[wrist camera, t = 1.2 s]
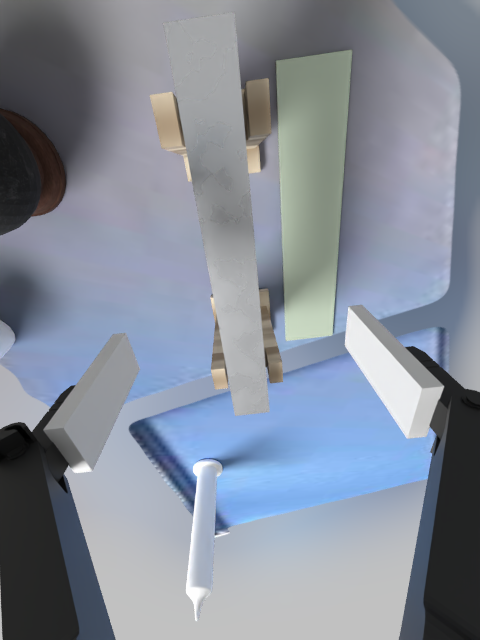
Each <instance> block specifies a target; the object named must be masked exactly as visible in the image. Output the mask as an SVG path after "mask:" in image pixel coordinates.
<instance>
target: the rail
mask: <svg viewBox="0 0 480 640" xmlns="http://www.w3.org/2000/svg"><path fill="white" fill-rule="evenodd" d="M163 26H164V32H165V37H166V43H167V48H168V53H169V59H170V64H171V70H172V75H173V81H174V86H175V92H176V97H177V102H178V108H179V113H180V119H181V124H182V130H183V135H184V140H185V146H186V151H187V157H188V162H189V168H190V173H191V178H192V184H193V189H194V195H195V200H196V206H197V211H198V217H199V222H200V227H201V233H202V238H203V244H204V249H205V255H206V260H207V265H208V271H209V276H210V282H211V287H212V293H213V298H214V304H215V309H216V314H217V320H218V325H219V331H220V336H221V342H222V347H223V352H224V358H225V363H226V369H227V374H228V380H229V385H230V390H231V396H232V401H233V407H234V412H235V416H238V415H247V414H256V413H265V412H269V400H268V389H267V378H266V366H265V355H264V343H263V332H262V321H261V309H260V298H259V286H258V275H257V264H256V252H255V241H254V229H253V218H252V206H251V195H250V184H249V172H248V161H247V149H246V138H245V127H244V115H243V104H242V92H241V81H240V70H239V58H238V47H237V35H236V24H235V13H234V12H231V13H224V14H217V15H211V16H204V17H198V18H191V19H184V20H178V21H171V22H164V23H163Z"/></svg>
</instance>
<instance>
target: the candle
mask: <svg viewBox="0 0 480 640" xmlns="http://www.w3.org/2000/svg"><path fill="white" fill-rule="evenodd" d="M222 469H223V468H222V465H221V463H220V462H218V461H216V460H213V459H203V460H200V461H198V462H196V463H195V464H194V467H193V472H194V474H195V475H196V476H198V479H197V488H196V498H195V508H194V517H193V527H192V537H191V547H190V556H189V566H188V576H187V585H186V593H187V595H188V596H189V597H190V598H191V599H192V601H193V603H194V607H195V619H196V621H198V619H199V616H200V611H201V607H202V604H203V602H204V600H205V599H206V598H207V597H208V596H209V595H210V594H211V592H212V584H213V558H214V536H215V511H216V486H217V476H219V475H220V474H221V473H222Z"/></svg>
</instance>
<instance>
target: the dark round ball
mask: <svg viewBox="0 0 480 640" xmlns="http://www.w3.org/2000/svg"><path fill="white" fill-rule="evenodd" d="M65 187H66V179H65V171H64V167H63V164H62V161H61V159H60V156H59V154H58V152H57V151H56V149H55V147H54V146H53V144H52V142H51V141H50V140H49V139H48V137H47V136H46V135H45V134H44V133H43V132H42V131H41V130H40V129H39V128H38V127H37V126H36V125H35V124H33V123H32V122H30V121H29V120H28V119H26V118H25V117H23V116H21V115H19V114H17V113H15V112H11V111H8V110H4V109H1V108H0V235H3V234H5V233H8V232H10V231H12V230H14V229H17V228H19V227H20V226H21V225H23V224H24V223H25V222H26V221H27V220H28V219H29V218H30V217H31V216H38V215H43V214H46V213H49V212H51V211H52V210H54V209H55V208H56V207H57V206H58V205H59V204H60V202H61V201H62V198H63V196H64V193H65Z"/></svg>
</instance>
